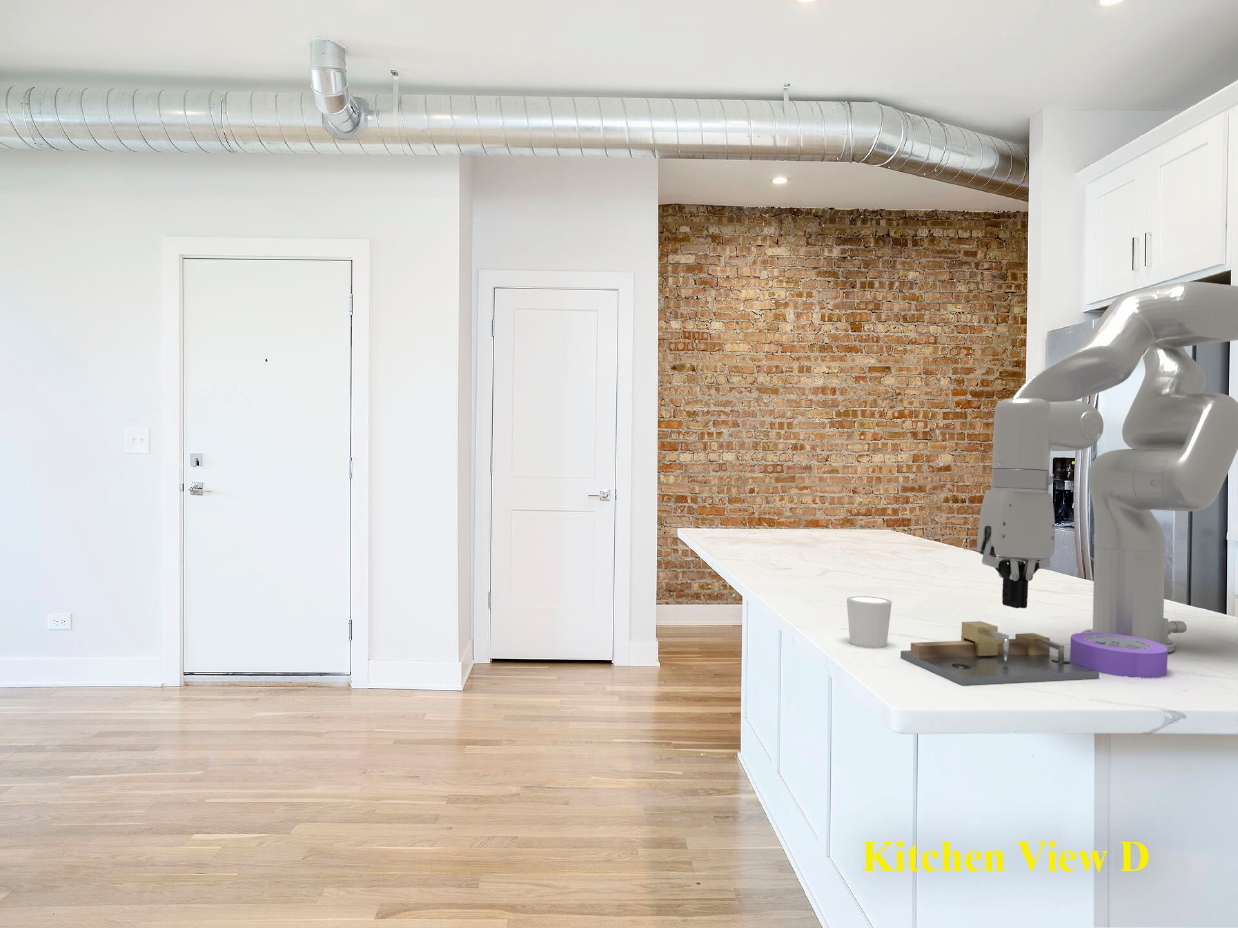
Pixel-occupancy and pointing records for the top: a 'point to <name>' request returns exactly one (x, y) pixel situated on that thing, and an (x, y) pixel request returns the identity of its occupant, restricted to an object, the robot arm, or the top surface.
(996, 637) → the sliding head
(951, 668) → the plate
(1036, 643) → the trammel beam
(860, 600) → the light grey cup
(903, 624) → the top surface
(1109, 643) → the masking tape
